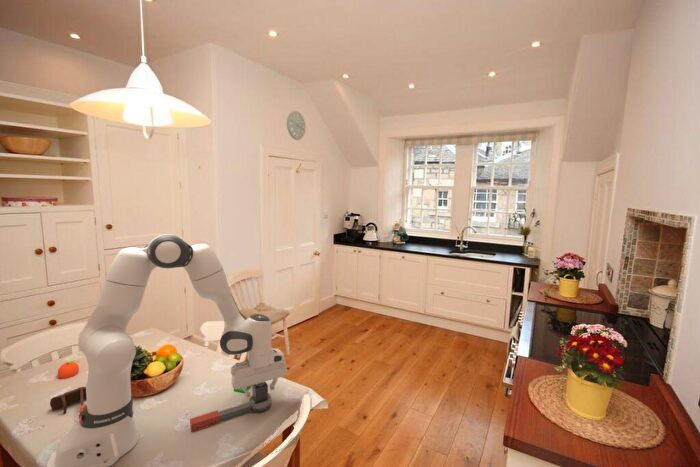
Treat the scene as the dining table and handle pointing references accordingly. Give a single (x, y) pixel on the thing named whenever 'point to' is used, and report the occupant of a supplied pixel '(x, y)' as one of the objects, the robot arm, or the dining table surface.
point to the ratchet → (228, 413)
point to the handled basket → (68, 399)
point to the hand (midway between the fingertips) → (260, 392)
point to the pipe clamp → (240, 390)
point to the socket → (260, 392)
